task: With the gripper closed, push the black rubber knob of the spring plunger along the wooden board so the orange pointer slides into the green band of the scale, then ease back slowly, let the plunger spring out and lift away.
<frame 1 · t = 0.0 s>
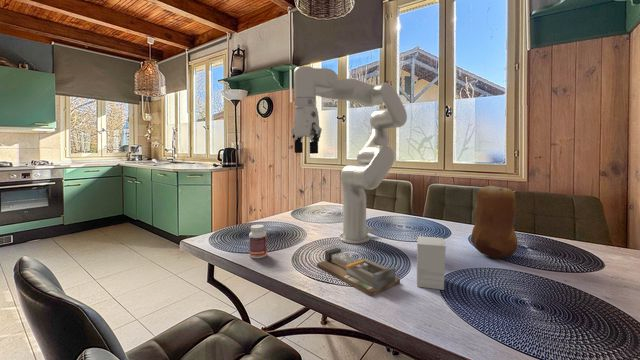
hand: (306, 153, 106), 37 cm above the table, tool pointing down, fingers open, 9 cm apart
butternut squash: (492, 256, 105), on the table
plunger: (344, 259, 96), point 3 cm above the table, slide at 0.0 cm
pill bottle: (258, 256, 108), on the table
wooden board: (355, 274, 92), on the table
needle: (356, 268, 88), point 3 cm above the table, slide at 0.0 cm
supplement box: (429, 283, 86), on the table
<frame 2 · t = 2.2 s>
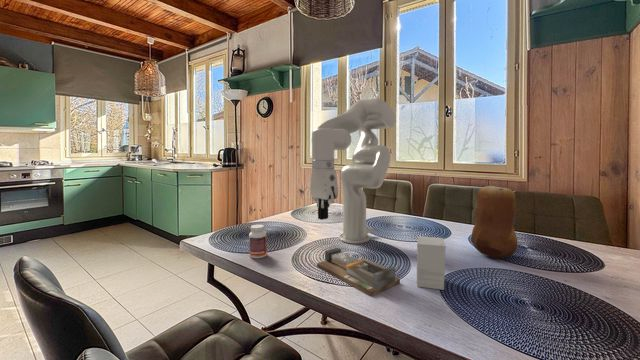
hand: (323, 218, 102), 15 cm above the table, tool pointing down, fingers closed
nothing on the table moved.
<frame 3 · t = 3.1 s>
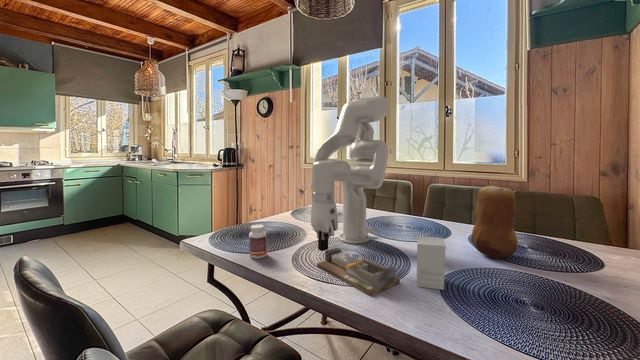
hand: (323, 249, 103), 3 cm above the table, tool pointing down, fingers closed
nothing on the table moved.
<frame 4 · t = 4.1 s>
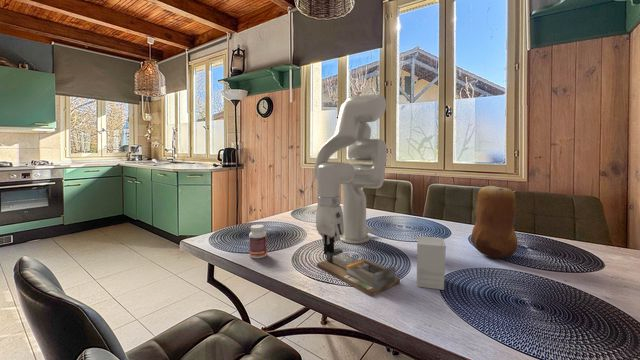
hand: (328, 253, 102), 3 cm above the table, tool pointing down, fingers closed
plunger: (345, 260, 95), point 3 cm above the table, slide at 0.7 cm, touching gripper, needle
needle: (357, 268, 88), point 3 cm above the table, slide at 0.2 cm, touching plunger
everything else where it was.
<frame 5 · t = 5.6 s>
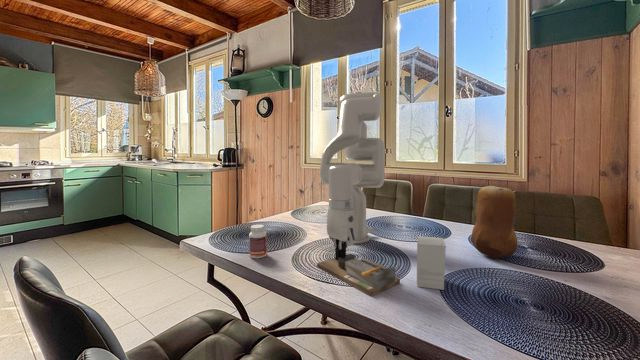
hand: (340, 259, 97), 3 cm above the table, tool pointing down, fingers closed
plunger: (358, 266, 90), point 3 cm above the table, slide at 6.8 cm, touching gripper, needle
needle: (372, 276, 83), point 3 cm above the table, slide at 6.3 cm, touching plunger
everything else where it was.
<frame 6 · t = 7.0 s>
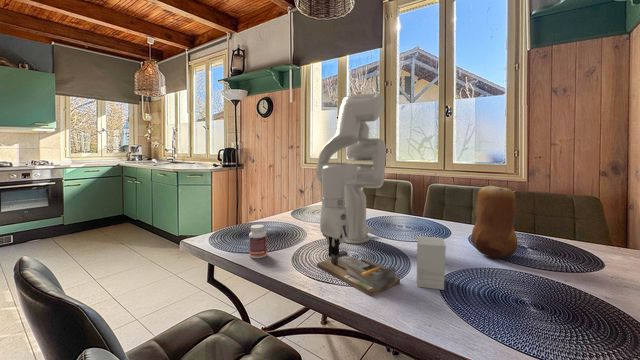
hand: (333, 256, 100), 3 cm above the table, tool pointing down, fingers closed
plunger: (350, 262, 93), point 3 cm above the table, slide at 3.2 cm, touching gripper
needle: (372, 276, 83), point 3 cm above the table, slide at 6.3 cm
everything else where it was.
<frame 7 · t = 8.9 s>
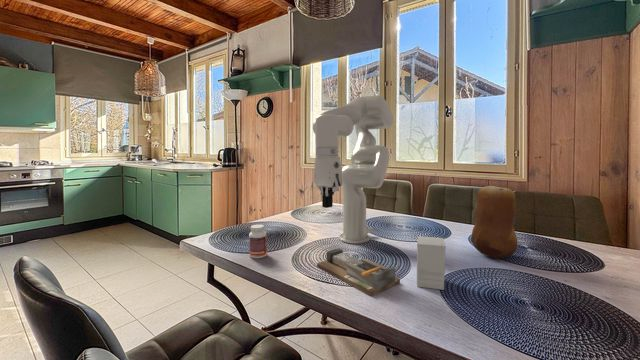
hand: (327, 206, 101), 19 cm above the table, tool pointing down, fingers closed
plunger: (345, 260, 95), point 3 cm above the table, slide at 0.8 cm
everything else where it was.
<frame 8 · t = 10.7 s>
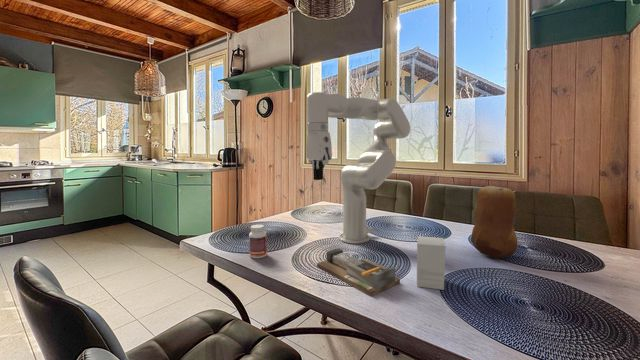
hand: (318, 179, 108), 27 cm above the table, tool pointing down, fingers closed
nothing on the table moved.
at the end: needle slide at 6.3 cm; plunger slide at 0.8 cm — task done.
